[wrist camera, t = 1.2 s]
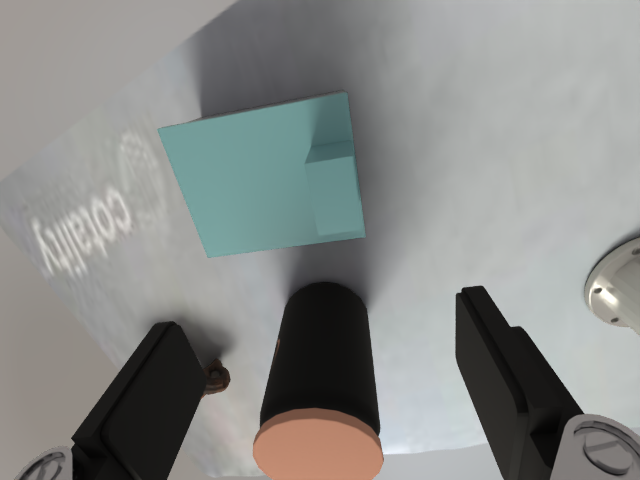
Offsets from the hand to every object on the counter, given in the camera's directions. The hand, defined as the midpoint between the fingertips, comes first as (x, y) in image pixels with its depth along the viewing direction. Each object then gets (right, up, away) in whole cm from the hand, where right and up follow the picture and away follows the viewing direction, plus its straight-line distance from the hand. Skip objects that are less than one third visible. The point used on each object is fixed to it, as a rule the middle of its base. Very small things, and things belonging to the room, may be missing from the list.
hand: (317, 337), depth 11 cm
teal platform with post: (-4, +9, +17) cm, 20 cm away
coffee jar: (+1, -6, +31) cm, 32 cm away
